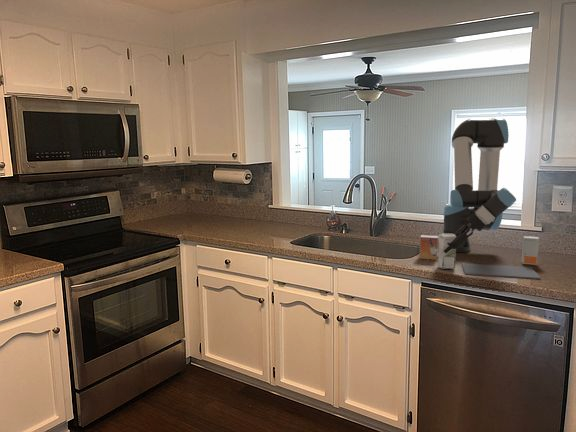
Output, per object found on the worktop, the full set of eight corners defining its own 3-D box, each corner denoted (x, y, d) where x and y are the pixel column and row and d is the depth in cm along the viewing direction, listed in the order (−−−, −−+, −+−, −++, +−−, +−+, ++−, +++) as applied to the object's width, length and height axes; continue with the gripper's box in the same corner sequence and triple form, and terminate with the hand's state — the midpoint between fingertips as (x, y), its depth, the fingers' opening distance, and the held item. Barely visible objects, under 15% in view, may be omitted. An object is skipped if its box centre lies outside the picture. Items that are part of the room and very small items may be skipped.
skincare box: (522, 264, 207) (524, 237, 205) (521, 261, 211) (523, 235, 209) (537, 265, 205) (539, 238, 203) (536, 263, 209) (538, 236, 207)
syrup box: (450, 265, 205) (451, 232, 202) (455, 269, 199) (456, 235, 196) (437, 265, 204) (438, 233, 202) (442, 269, 199) (443, 236, 196)
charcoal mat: (461, 264, 207) (461, 263, 207) (531, 268, 200) (531, 267, 200) (465, 274, 192) (465, 273, 192) (540, 279, 185) (540, 277, 185)
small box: (419, 259, 218) (419, 236, 217) (420, 256, 224) (420, 234, 222) (437, 260, 216) (438, 237, 214) (437, 257, 221) (438, 235, 219)
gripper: (490, 229, 185) (445, 267, 192) (484, 221, 204) (443, 255, 211) (476, 216, 186) (432, 253, 193) (471, 208, 204) (431, 243, 211)
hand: (438, 254), depth 202 cm, fingers closed on syrup box, 7 cm apart
